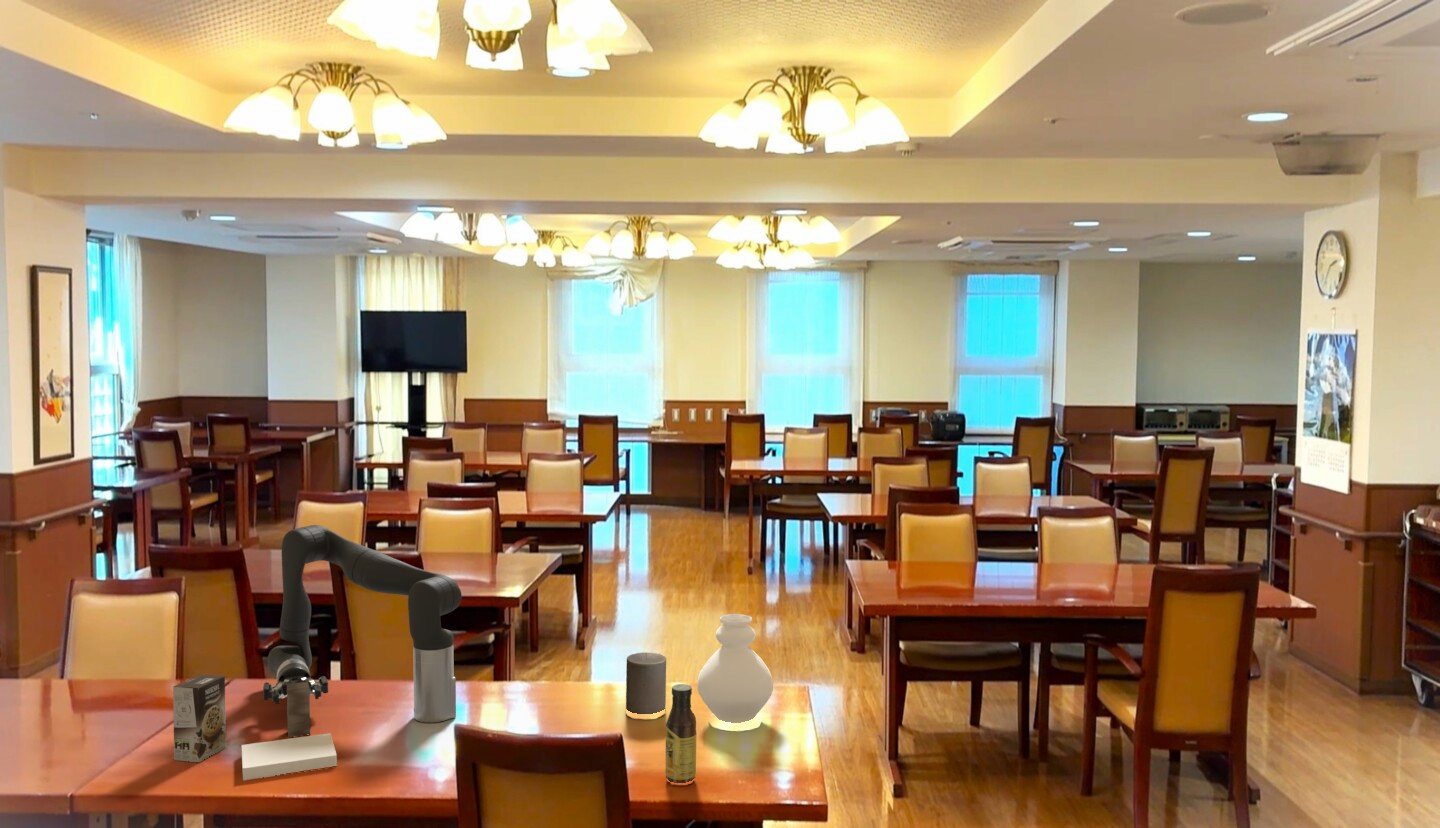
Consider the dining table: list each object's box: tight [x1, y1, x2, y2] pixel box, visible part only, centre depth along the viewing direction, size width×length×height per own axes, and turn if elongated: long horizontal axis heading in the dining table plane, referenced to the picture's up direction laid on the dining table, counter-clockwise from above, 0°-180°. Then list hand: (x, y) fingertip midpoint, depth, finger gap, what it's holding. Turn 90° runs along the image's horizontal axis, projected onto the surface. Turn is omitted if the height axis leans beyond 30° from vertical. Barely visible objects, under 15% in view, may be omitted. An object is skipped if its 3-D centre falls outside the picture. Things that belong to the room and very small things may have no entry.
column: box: [286, 682, 311, 738], centre depth 246 cm, size 4×4×11 cm
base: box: [241, 732, 338, 781], centre depth 230 cm, size 18×14×2 cm
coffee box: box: [172, 674, 227, 763], centre depth 233 cm, size 9×6×16 cm
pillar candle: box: [625, 652, 667, 714], centre depth 261 cm, size 10×10×15 cm
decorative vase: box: [696, 613, 774, 723], centre depth 255 cm, size 18×18×25 cm
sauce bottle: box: [665, 683, 697, 783], centre depth 220 cm, size 6×6×20 cm
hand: (297, 697), depth 250 cm, fingers open, 8 cm apart
